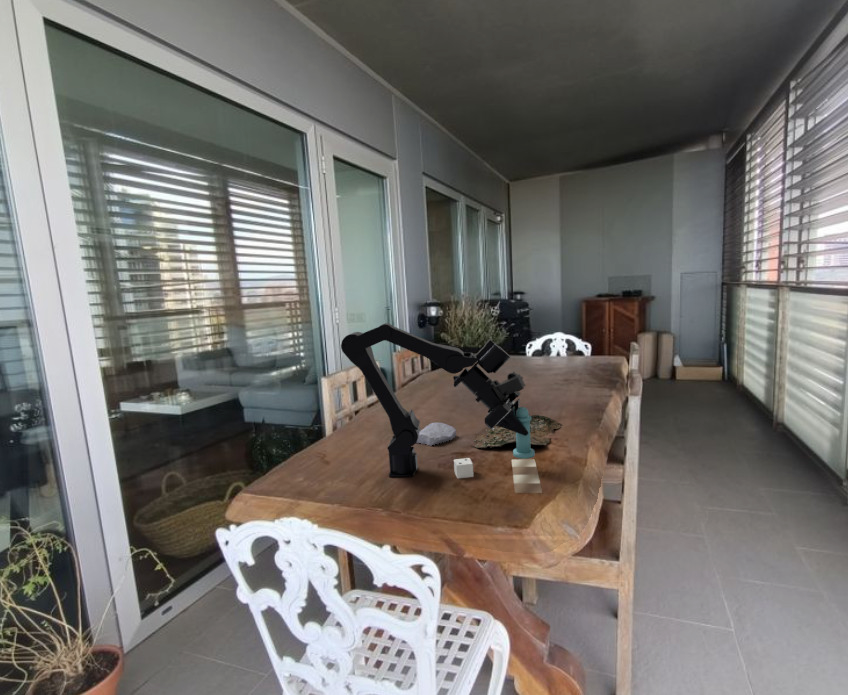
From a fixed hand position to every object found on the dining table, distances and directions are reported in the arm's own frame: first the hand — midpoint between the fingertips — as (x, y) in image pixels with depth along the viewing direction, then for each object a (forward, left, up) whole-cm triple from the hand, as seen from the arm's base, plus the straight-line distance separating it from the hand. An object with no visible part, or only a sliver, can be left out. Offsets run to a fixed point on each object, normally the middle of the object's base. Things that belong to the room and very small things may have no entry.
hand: (528, 431), depth 114 cm
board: (-1, -2, -11) cm, 11 cm away
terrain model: (-3, +30, -11) cm, 32 cm away
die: (-16, -2, -11) cm, 20 cm away
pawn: (-1, 0, -6) cm, 6 cm away
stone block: (-27, +27, -11) cm, 39 cm away
